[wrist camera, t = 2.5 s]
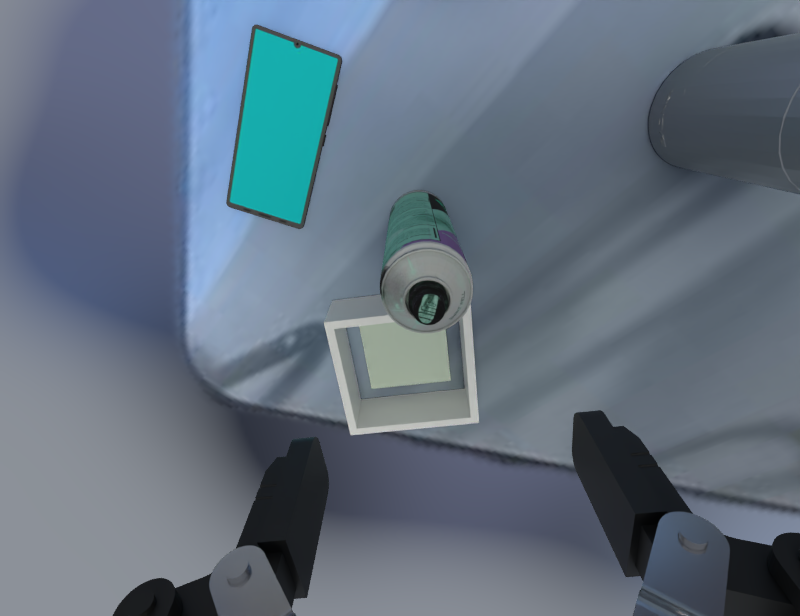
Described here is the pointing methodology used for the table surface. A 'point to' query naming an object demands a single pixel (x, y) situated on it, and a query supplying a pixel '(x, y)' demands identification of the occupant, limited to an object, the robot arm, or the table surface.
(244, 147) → the smartphone
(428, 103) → the table surface
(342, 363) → the white square tray
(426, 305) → the spray can
